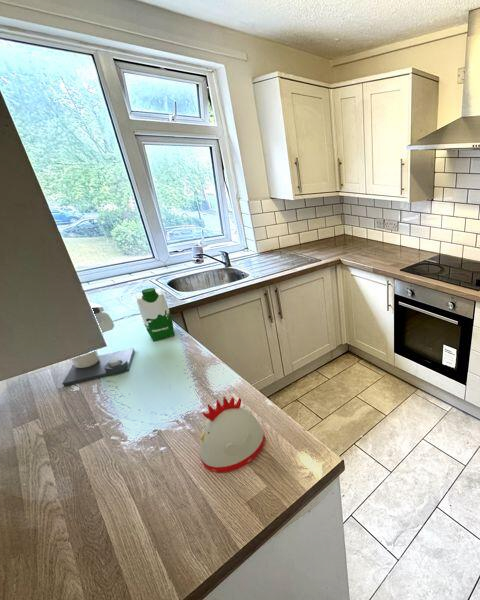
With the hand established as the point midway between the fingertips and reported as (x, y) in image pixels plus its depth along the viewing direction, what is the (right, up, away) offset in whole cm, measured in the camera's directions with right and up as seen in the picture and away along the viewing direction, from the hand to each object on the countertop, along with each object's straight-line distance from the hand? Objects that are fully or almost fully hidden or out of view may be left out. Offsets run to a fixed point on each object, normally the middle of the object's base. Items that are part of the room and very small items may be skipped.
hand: (81, 352), depth 108 cm
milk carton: (+11, +3, +22) cm, 25 cm away
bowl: (0, -4, +2) cm, 4 cm away
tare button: (+12, -4, -1) cm, 13 cm away
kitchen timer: (+65, -19, -28) cm, 73 cm away
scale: (+5, -6, +2) cm, 8 cm away
